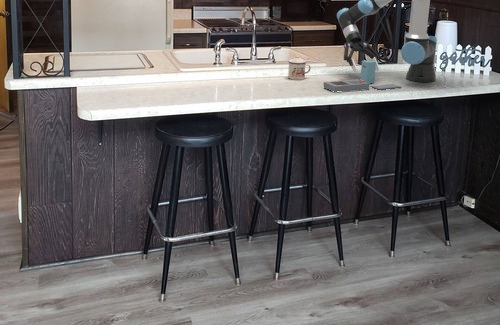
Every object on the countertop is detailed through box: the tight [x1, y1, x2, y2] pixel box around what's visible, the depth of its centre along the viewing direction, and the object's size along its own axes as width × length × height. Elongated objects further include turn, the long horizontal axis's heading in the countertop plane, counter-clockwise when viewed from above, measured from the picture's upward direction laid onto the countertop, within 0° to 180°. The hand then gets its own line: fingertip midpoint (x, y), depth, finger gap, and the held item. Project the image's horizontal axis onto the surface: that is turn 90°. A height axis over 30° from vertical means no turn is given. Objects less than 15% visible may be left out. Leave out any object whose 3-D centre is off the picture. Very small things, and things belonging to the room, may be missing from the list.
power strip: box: [322, 78, 371, 93], centre depth 316 cm, size 20×10×4 cm, turn 116°
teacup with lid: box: [287, 55, 312, 81], centre depth 335 cm, size 12×9×12 cm
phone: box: [369, 83, 402, 91], centre depth 321 cm, size 14×7×1 cm, turn 118°
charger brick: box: [359, 59, 376, 84], centre depth 329 cm, size 5×5×11 cm
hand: (366, 70), depth 329 cm, fingers open, 13 cm apart
